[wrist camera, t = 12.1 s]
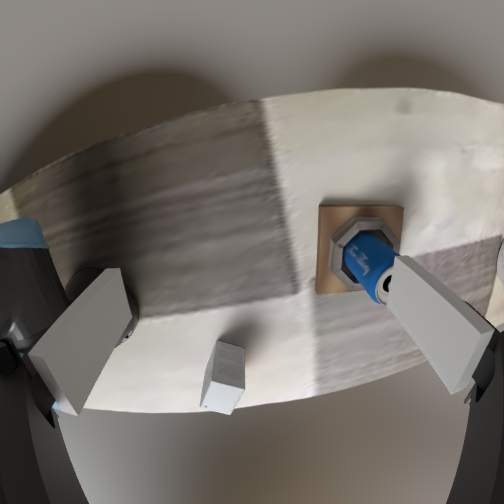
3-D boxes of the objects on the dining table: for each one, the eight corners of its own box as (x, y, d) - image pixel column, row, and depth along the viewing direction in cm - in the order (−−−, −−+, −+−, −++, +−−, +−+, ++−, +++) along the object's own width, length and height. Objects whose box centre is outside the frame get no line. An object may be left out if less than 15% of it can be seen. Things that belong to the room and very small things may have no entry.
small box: (232, 375, 52) (230, 416, 42) (205, 367, 51) (198, 408, 41) (246, 347, 49) (246, 389, 39) (216, 339, 48) (211, 380, 38)
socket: (315, 289, 45) (320, 302, 41) (318, 205, 40) (326, 211, 36) (389, 283, 45) (399, 294, 41) (399, 205, 40) (411, 211, 36)
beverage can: (354, 224, 40) (390, 253, 28) (385, 240, 41) (425, 272, 29) (334, 261, 42) (363, 301, 30) (366, 275, 43) (399, 314, 31)
